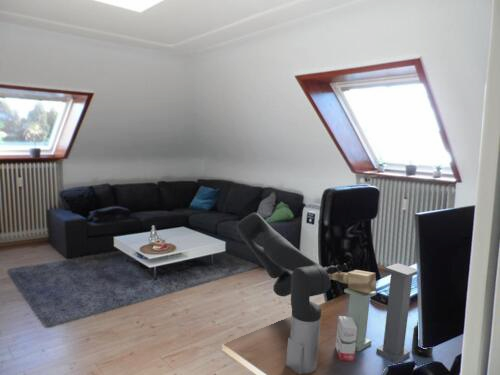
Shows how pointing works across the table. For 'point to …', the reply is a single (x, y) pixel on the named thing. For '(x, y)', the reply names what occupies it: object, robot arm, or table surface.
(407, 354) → the tall stand
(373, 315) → the table surface
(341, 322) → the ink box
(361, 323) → the low stand
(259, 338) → the table surface
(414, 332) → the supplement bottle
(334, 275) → the wooden leg
